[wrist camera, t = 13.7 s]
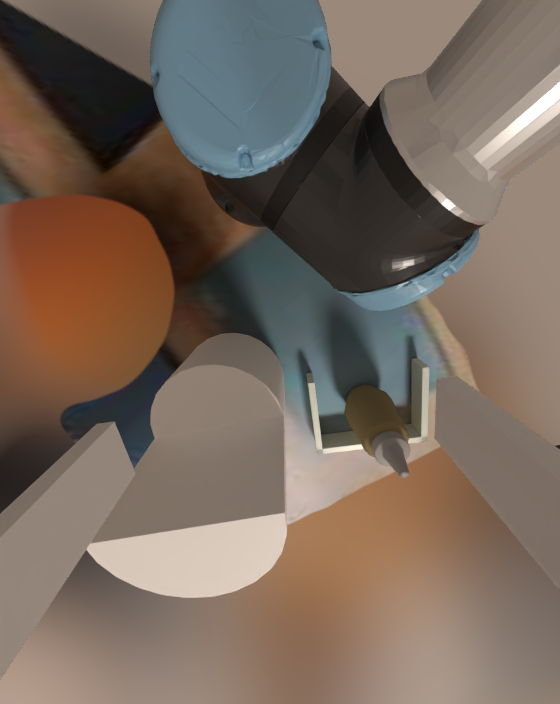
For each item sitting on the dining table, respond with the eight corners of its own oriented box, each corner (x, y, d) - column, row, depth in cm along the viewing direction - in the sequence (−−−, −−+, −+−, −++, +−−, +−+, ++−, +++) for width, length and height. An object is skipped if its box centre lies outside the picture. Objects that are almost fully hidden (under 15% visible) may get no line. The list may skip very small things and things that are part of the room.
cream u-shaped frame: (306, 373, 49) (308, 383, 45) (417, 357, 47) (429, 367, 44) (314, 439, 53) (317, 454, 49) (416, 427, 52) (427, 441, 48)
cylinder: (293, 413, 51) (304, 583, 25) (202, 429, 53) (123, 608, 26) (271, 322, 46) (258, 420, 19) (171, 344, 47) (30, 463, 21)
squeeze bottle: (361, 369, 48) (404, 433, 31) (395, 394, 50) (453, 468, 33) (330, 402, 50) (355, 479, 34) (364, 425, 52) (404, 509, 35)
